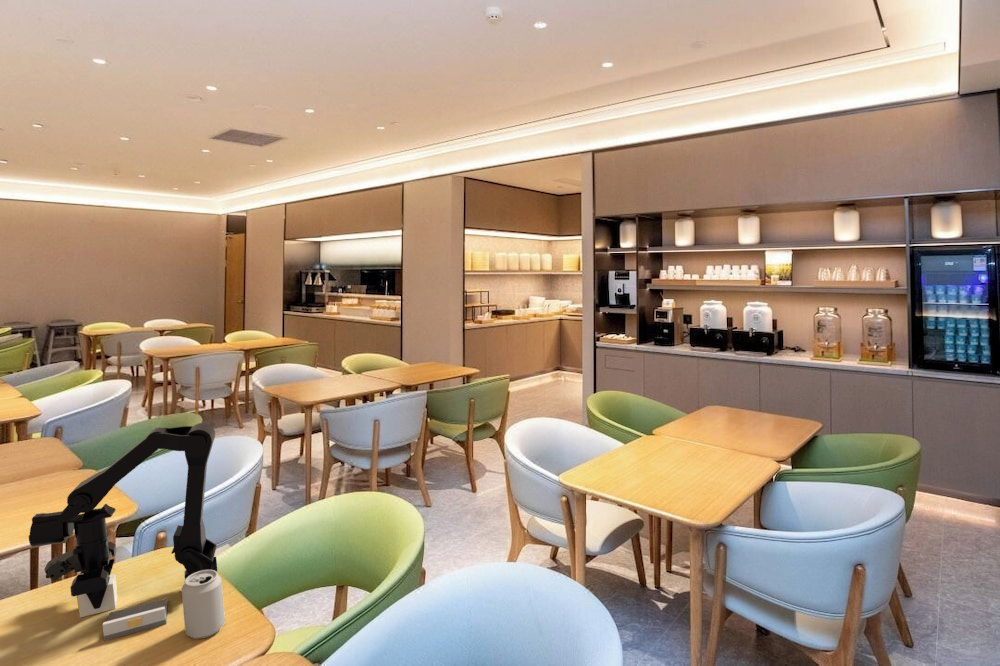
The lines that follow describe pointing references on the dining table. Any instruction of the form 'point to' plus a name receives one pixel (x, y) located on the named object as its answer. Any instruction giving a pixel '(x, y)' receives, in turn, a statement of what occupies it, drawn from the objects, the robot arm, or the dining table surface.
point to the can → (203, 604)
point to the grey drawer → (135, 619)
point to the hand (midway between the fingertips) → (98, 602)
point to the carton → (107, 603)
